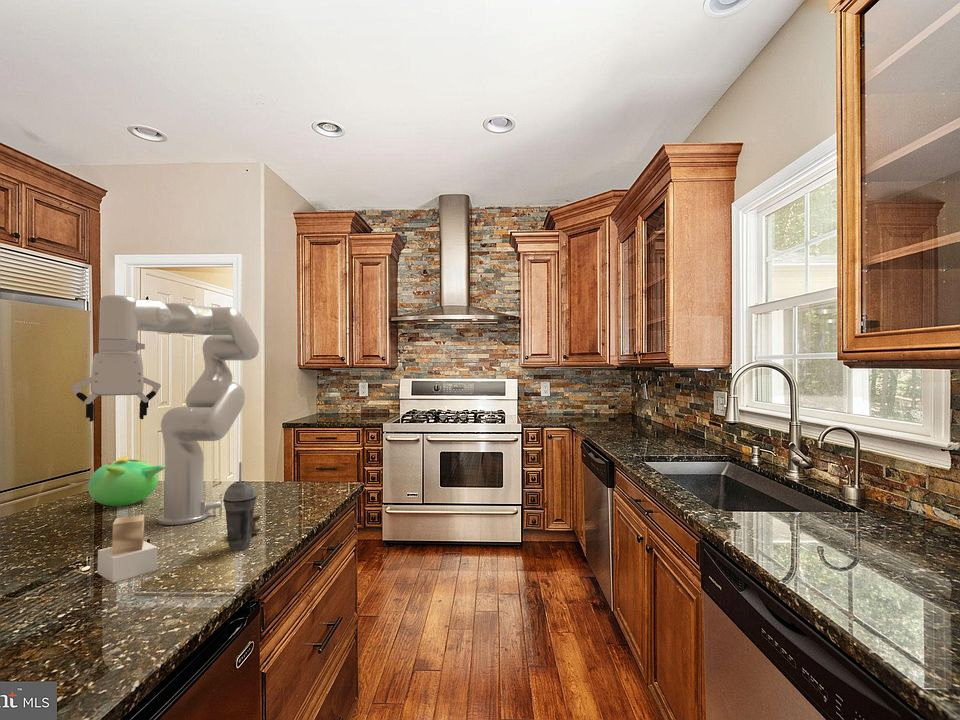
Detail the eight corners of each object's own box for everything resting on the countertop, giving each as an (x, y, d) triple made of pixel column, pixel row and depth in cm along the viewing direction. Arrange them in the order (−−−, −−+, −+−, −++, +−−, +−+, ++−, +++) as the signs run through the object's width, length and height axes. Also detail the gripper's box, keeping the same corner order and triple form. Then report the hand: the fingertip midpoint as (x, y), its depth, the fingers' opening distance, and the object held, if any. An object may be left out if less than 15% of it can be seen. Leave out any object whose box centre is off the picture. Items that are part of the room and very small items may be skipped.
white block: (140, 562, 111) (141, 539, 111) (157, 570, 107) (157, 547, 107) (97, 574, 105) (97, 550, 105) (112, 583, 100) (113, 558, 100)
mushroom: (272, 520, 131) (257, 501, 131) (249, 541, 124) (233, 521, 124) (258, 530, 135) (243, 511, 135) (234, 550, 128) (219, 531, 128)
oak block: (143, 542, 109) (144, 514, 109) (141, 549, 105) (142, 520, 105) (115, 546, 107) (116, 518, 107) (112, 554, 102) (112, 524, 103)
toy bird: (145, 495, 170) (146, 451, 170) (167, 503, 160) (168, 456, 160) (79, 506, 155) (80, 458, 156) (100, 516, 146) (101, 464, 146)
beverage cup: (222, 554, 115) (223, 466, 116) (222, 544, 122) (223, 461, 122) (257, 549, 119) (258, 464, 119) (255, 540, 125) (256, 459, 126)
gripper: (160, 349, 128) (158, 416, 128) (72, 347, 118) (71, 420, 118) (162, 348, 122) (161, 419, 122) (70, 346, 112) (69, 423, 112)
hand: (117, 419), depth 120 cm, fingers open, 9 cm apart
